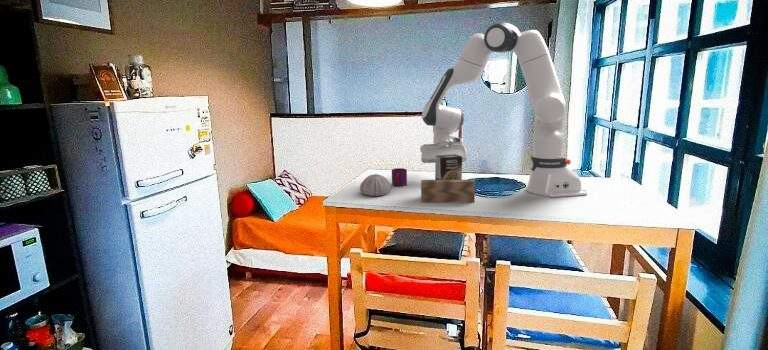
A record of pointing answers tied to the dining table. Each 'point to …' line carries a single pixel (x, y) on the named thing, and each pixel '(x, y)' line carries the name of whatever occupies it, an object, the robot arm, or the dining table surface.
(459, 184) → the brown rectangular block
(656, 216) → the dining table surface
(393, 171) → the mug
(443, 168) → the coffee box
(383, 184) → the sea urchin shell
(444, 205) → the dining table surface
